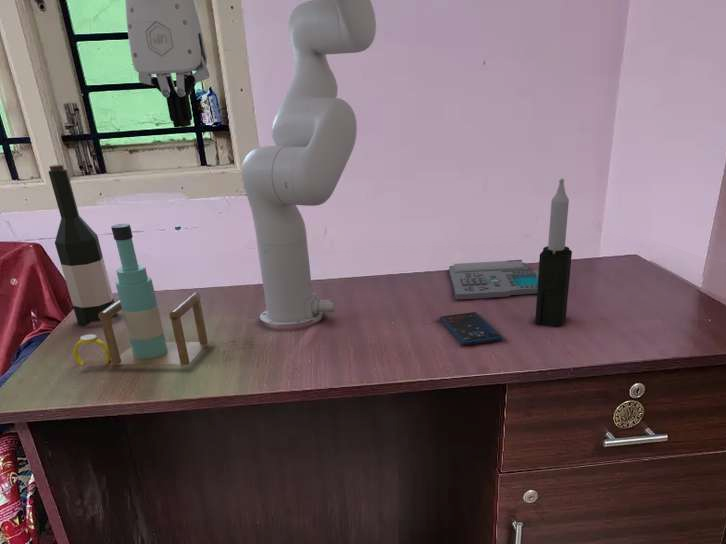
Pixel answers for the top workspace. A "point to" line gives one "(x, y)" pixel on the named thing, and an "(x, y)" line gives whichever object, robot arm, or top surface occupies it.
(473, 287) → the office telephone
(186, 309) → the caddy
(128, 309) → the bottle
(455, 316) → the smartphone
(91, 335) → the watch
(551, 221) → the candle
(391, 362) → the top surface
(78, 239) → the wine bottle
